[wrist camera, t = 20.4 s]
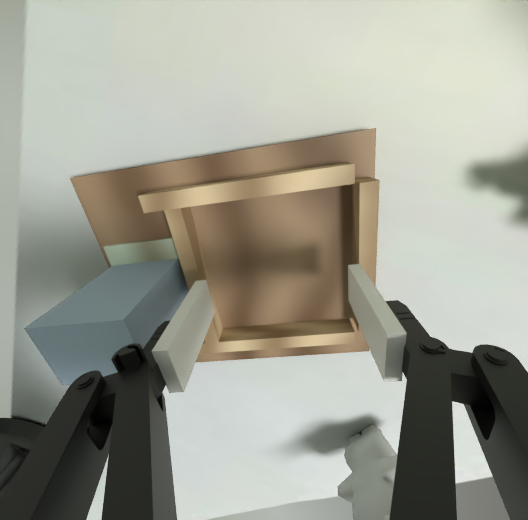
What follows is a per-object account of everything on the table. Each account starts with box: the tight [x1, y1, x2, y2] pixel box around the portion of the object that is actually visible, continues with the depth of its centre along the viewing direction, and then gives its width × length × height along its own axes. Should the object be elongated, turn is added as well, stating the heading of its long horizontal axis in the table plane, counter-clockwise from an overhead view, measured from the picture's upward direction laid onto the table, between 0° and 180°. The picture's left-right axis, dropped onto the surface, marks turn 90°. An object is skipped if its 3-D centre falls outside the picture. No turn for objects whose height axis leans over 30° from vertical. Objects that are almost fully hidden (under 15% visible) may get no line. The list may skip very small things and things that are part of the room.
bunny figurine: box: [338, 425, 397, 520], centre depth 24 cm, size 10×5×15 cm, turn 141°
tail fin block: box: [24, 258, 189, 385], centre depth 18 cm, size 6×4×8 cm
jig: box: [70, 128, 379, 362], centre depth 21 cm, size 22×19×3 cm
